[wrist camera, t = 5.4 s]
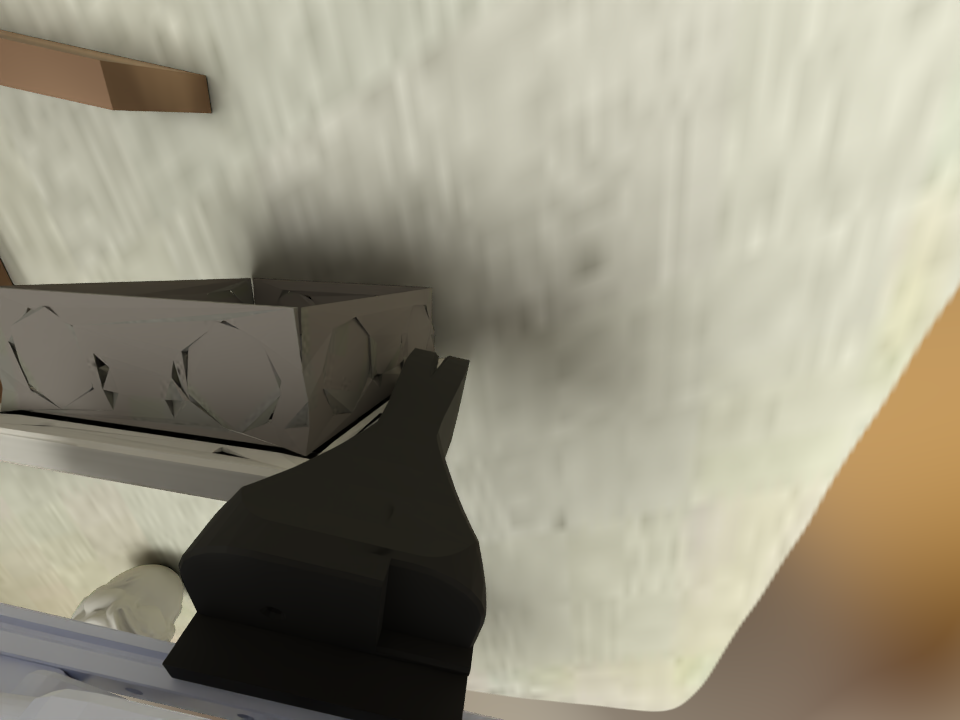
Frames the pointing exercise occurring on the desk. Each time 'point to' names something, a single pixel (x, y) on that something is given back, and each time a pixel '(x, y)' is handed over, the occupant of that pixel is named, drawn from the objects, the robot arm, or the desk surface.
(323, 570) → the robot arm
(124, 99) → the socket dock
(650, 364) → the desk surface
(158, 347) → the electrical switch
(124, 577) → the grey rounded carved piece
